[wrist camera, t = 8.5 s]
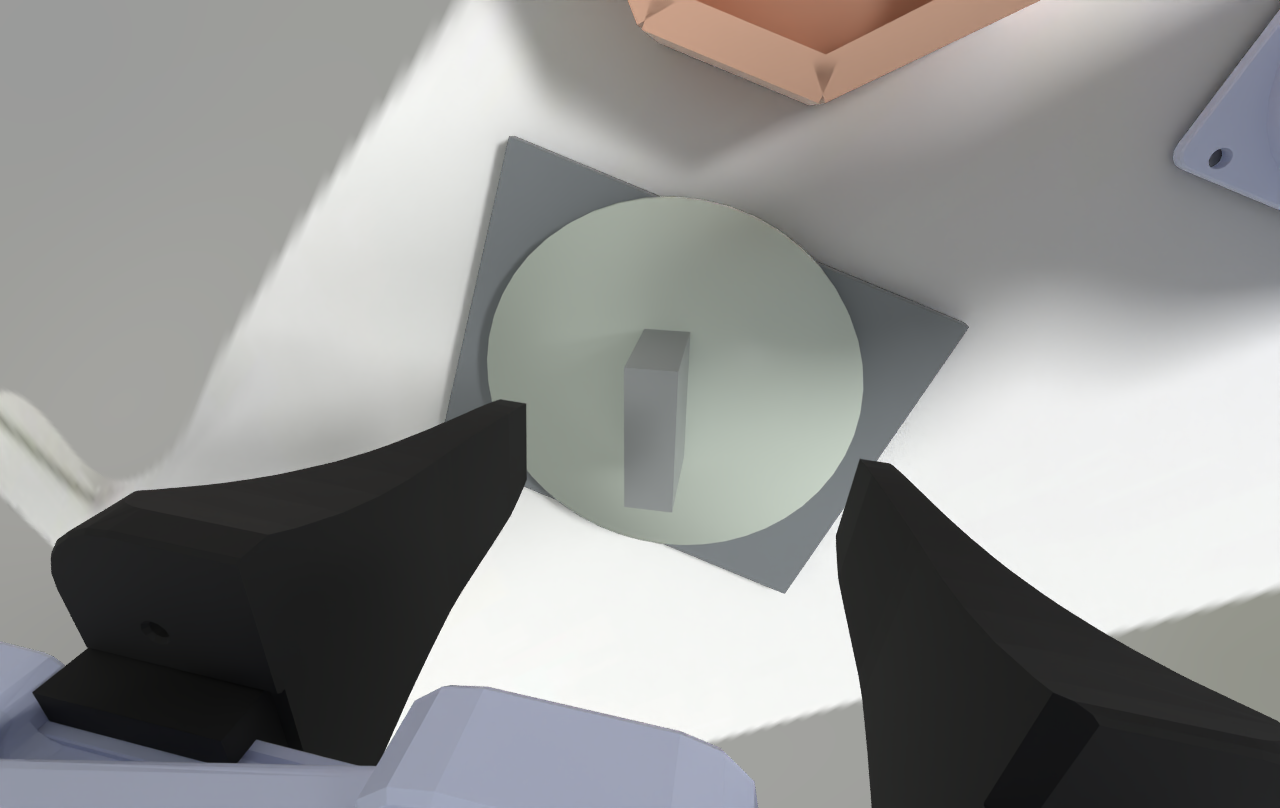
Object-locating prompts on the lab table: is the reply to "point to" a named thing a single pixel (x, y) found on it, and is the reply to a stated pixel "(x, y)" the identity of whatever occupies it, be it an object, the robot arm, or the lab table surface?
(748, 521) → the lid
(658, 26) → the bowl
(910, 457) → the lab table surface
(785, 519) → the mat
